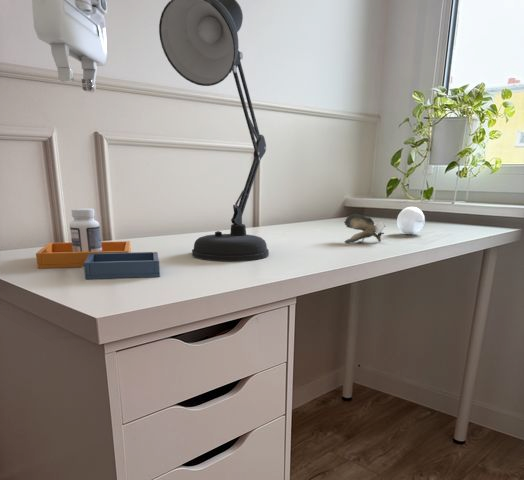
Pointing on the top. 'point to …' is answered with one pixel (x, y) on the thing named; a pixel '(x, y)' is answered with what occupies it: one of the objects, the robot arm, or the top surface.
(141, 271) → the slate tray
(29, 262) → the top surface
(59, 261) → the amber tray
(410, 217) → the white egg
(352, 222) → the eagle figurine
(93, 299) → the top surface
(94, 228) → the pill bottle
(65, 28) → the robot arm
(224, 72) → the desk lamp
